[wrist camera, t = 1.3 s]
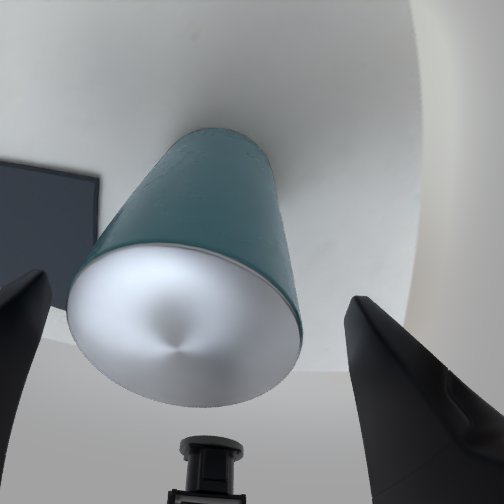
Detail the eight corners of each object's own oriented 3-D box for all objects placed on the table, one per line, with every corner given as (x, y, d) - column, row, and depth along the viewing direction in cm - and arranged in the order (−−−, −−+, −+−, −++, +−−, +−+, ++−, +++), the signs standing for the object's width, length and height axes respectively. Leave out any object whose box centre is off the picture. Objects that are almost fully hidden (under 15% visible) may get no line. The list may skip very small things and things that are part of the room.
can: (255, 244, 17) (261, 419, 9) (152, 220, 16) (79, 381, 8) (287, 144, 14) (347, 279, 6) (170, 116, 13) (52, 213, 5)
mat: (99, 314, 20) (97, 320, 20) (-8, 279, 19) (-11, 284, 18) (99, 178, 15) (94, 182, 14) (-27, 156, 13) (-33, 160, 13)
